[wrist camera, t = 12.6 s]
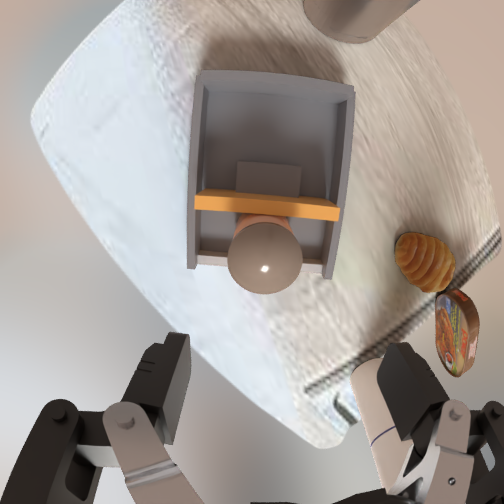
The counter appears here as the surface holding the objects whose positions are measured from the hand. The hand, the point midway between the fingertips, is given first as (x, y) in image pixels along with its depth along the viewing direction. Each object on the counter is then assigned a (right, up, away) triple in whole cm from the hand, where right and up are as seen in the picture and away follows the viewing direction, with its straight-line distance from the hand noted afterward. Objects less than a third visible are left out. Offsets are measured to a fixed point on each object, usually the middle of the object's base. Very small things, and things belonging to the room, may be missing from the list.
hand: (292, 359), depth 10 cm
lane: (0, +13, +17) cm, 21 cm away
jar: (0, +6, +19) cm, 20 cm away
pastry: (+20, +3, +21) cm, 29 cm away
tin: (+28, -6, +24) cm, 37 cm away
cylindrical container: (+17, -15, +27) cm, 35 cm away
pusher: (0, +11, +17) cm, 20 cm away
